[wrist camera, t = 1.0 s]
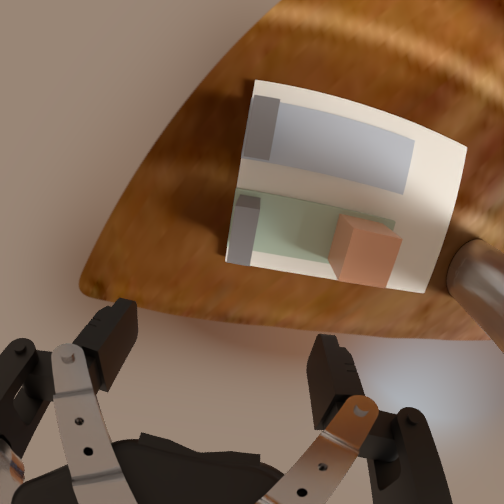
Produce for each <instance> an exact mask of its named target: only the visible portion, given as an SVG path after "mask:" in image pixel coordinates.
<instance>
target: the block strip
mask: <svg viewBox="0 0 504 504" xmlns="http://www.w3.org/2000/svg"><path fill="white" fill-rule="evenodd" d="M339 214H344V215H349V216H353V217H358V218H362V219H366V220H370V221H375V222H379V223H383V224H384V225H385V226H387V227H388V228H389V229H391V230H392V231H393V230H394V226H395V223H396V222H395V221H394V220H390V219H386V218H382V217H378V216H374V215H370V214H366V213H362V212H357V211H353V210H349V209H344V208H340V207H335V206H331V205H326V204H321V203H317V202H312V201H307V200H302V199H297V198H292V197H287V196H281V195H276V194H271V193H265V192H260V191H254V190H248V189H242V188H236V190H235V197H234V203H233V209H232V216H231V222H230V229H229V235H228V242H227V246H228V247H229V249H228V256H227V262H228V263H234V264H239V265H245V266H250V262H251V256H252V251H257V252H263V253H269V254H275V255H280V256H286V257H292V258H298V259H304V260H309V261H315V262H321V263H327V264H330V263H329V261H328V255H329V252H330V248H331V244H332V241H333V237H334V233H335V229H336V225H337V222H338V218H339Z"/></svg>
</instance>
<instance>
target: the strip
mask: <svg viewBox="0 0 504 504" xmlns="http://www.w3.org/2000/svg"><path fill="white" fill-rule="evenodd" d="M414 143H415V140H412V139H409V138H407V137H404V136H401V135H399V134H396V133H393V132H390V131H387V130H384V129H381V128H378V127H375V126H372V125H369V124H366V123H363V122H359V121H356V120H352V119H349V118H345V117H342V116H338V115H334V114H331V113H327V112H323V111H319V110H314V109H310V108H306V107H301V106H296V105H292V104H287V103H281V102H280V99H277V98H272V97H266V96H260V95H254V98H251V103H250V109H249V114H248V120H247V126H246V131H245V137H244V143H243V148H242V154H241V158H244V159H250V160H256V161H262V162H267V163H273V164H278V165H283V166H288V167H293V168H298V169H303V170H308V171H312V172H317V173H321V174H326V175H330V176H334V177H339V178H343V179H347V180H351V181H355V182H358V183H362V184H366V185H370V186H374V187H377V188H381V189H384V190H388V191H391V192H395V193H398V194H401V195H403V193H404V189H405V185H406V181H407V177H408V172H409V168H410V163H411V158H412V154H413V148H414Z"/></svg>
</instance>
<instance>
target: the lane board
mask: <svg viewBox="0 0 504 504" xmlns="http://www.w3.org/2000/svg"><path fill="white" fill-rule="evenodd" d="M254 95H260V96H266V97H272V98H277V99H280V102H281V103H287V104H292V105H296V106H301V107H306V108H310V109H314V110H319V111H323V112H327V113H331V114H334V115H338V116H342V117H345V118H349V119H352V120H356V121H359V122H363V123H366V124H369V125H372V126H375V127H378V128H381V129H384V130H387V131H390V132H393V133H396V134H399V135H401V136H404V137H407V138H409V139H412V140H415V143H414V148H413V154H412V158H411V163H410V168H409V172H408V177H407V181H406V185H405V189H404V193H403V195H401V194H398V193H395V192H391V191H388V190H384V189H381V188H377V187H374V186H370V185H366V184H362V183H358V182H355V181H351V180H347V179H343V178H339V177H334V176H330V175H326V174H321V173H317V172H312V171H308V170H303V169H298V168H293V167H288V166H283V165H278V164H273V163H267V162H262V161H256V160H250V159H244V158H241V163H240V169H239V175H238V181H237V187H236V188H242V189H248V190H254V191H260V192H265V193H271V194H276V195H281V196H287V197H292V198H297V199H302V200H307V201H312V202H317V203H321V204H326V205H331V206H335V207H340V208H344V209H349V210H353V211H357V212H362V213H366V214H370V215H374V216H378V217H382V218H386V219H390V220H394V221H395V222H396V223H395V226H394V230H393V232H394V233H396V234H397V235H398V236H399V237H401V238H402V239H403V240H402V243H401V246H400V249H399V252H398V255H397V258H396V261H395V264H394V267H393V269H392V272H391V275H390V278H389V280H388V283H387V286H386V288H391V289H398V290H404V291H411V292H418V293H424V292H425V290H426V287H427V285H428V283H429V280H430V278H431V275H432V272H433V270H434V267H435V265H436V262H437V259H438V256H439V253H440V251H441V248H442V245H443V242H444V239H445V236H446V233H447V229H448V226H449V223H450V219H451V216H452V212H453V209H454V205H455V201H456V198H457V194H458V190H459V185H460V181H461V177H462V172H463V167H464V162H465V157H466V151H467V147H466V146H464V145H462V144H460V143H458V142H456V141H454V140H452V139H450V138H447V137H445V136H443V135H441V134H439V133H437V132H434V131H432V130H430V129H428V128H425V127H423V126H421V125H418V124H416V123H413V122H411V121H408V120H406V119H403V118H401V117H398V116H395V115H393V114H390V113H387V112H384V111H381V110H378V109H375V108H372V107H369V106H366V105H363V104H360V103H357V102H353V101H350V100H347V99H343V98H340V97H336V96H332V95H328V94H324V93H320V92H316V91H312V90H308V89H303V88H299V87H294V86H289V85H284V84H278V83H273V82H267V81H261V80H255V85H254V90H253V95H252V98H254ZM228 249H229V247H228V246H227V252H226V258H225V261H226V262H227V256H228ZM250 266H255V267H261V268H267V269H273V270H279V271H285V272H291V273H297V274H303V275H309V276H315V277H322V278H328V279H334V280H337V277H336V275H335V273H334V271H333V269H332V267H331V265H330V264H327V263H321V262H315V261H309V260H304V259H298V258H292V257H286V256H280V255H275V254H269V253H263V252H257V251H252V256H251V262H250Z"/></svg>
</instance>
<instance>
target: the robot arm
mask: <svg viewBox="0 0 504 504" xmlns="http://www.w3.org/2000/svg"><path fill="white" fill-rule="evenodd" d="M447 288H448V291H449V293H450V295H451V296H452V297H453V298H454V299H455V300H456V301H457V302H458V303H459V304H460V305H461V306H462V307H463V308H464V309H465V311H466V312H467V313H468V314H469V315H470V316H471V317H472V318H473V319H474V320H475V321H476V322H477V324H478V325H479V326H480V327H481V328H482V329H483V330H484V331H485V333H486V334H487V335H488V336H489V337H490V338H491V339H492V341H493V342H494V343H495V344H496V345H497V346H498V348H499V349H500V350H501V351H502V353H503V354H504V253H502V252H501V251H500V250H498V249H496V248H495V247H493V246H492V245H490V244H488V243H487V242H485V241H483V240H480V239H475V240H472V241H470V242H468V243H466V244H465V245H464V246H463V247H461V248H460V250H459V251H458V252H457V253H456V255H455V256H454V258H453V260H452V262H451V264H450V267H449V270H448V274H447ZM137 335H138V319H137V304H136V302H135V301H132V300H128V299H124V298H119V299H118V300H117V301H116V302H115V303H114V305H113V306H112V307H110V306H106V307H104V308H103V309H101V310H99V311H98V312H97V313H96V314H95V316H94V317H93V319H91V321H90V322H89V323H88V325H86V326H85V328H84V329H83V330H82V331H81V333H80V334H79V335H78V337H77V338H76V339H75V340H74V341H73V343H72V344H62V345H60V346H58V347H57V348H55V349H54V350H53V352H48V351H39V350H36V348H35V345H34V343H33V342H32V341H31V340H29V339H26V338H19V339H16V340H14V341H12V342H11V343H10V344H9V345H8V346H7V347H6V348H5V350H4V351H3V352H2V353H1V355H0V504H325V503H326V502H327V500H328V499H329V497H330V496H331V495H332V493H333V492H334V491H335V489H336V488H337V486H338V485H339V484H340V482H341V480H342V479H343V478H344V476H345V475H346V473H347V472H348V470H349V468H350V467H351V466H352V464H353V462H354V461H355V459H356V458H357V456H358V457H363V458H367V463H368V470H369V476H370V483H371V490H372V498H373V504H453V503H452V500H451V495H450V492H449V488H448V484H447V481H446V477H445V474H444V471H443V467H442V464H441V461H440V458H439V455H438V452H437V449H436V446H435V443H434V440H433V437H432V434H431V431H430V428H429V426H428V423H427V421H426V418H425V416H424V415H423V414H422V413H421V412H420V411H419V410H417V409H415V408H412V407H405V408H403V409H401V410H400V411H399V412H398V414H392V413H388V412H384V411H380V410H379V409H378V406H377V405H376V404H375V402H374V401H373V400H372V399H370V398H368V397H366V396H365V394H364V391H363V388H362V385H361V382H360V379H359V376H358V373H357V370H356V367H355V365H354V361H353V358H352V355H351V354H350V353H349V352H348V351H347V349H346V348H344V347H339V344H338V341H337V338H336V336H335V335H326V334H318V336H317V337H316V340H315V343H314V345H313V348H312V351H311V353H310V356H309V359H308V362H307V379H308V385H309V392H310V399H311V407H312V414H313V422H314V429H315V430H324V431H322V432H321V434H320V435H319V436H318V437H317V438H316V440H315V441H314V442H313V443H312V444H311V446H310V447H309V448H308V449H307V450H306V452H305V453H304V454H303V455H302V456H301V457H300V459H299V460H298V461H297V462H296V463H295V464H294V465H293V467H291V469H290V470H289V471H288V472H287V473H286V474H285V475H284V474H283V473H282V472H280V471H279V470H277V469H276V468H274V467H272V466H270V465H267V464H265V463H261V462H260V454H249V453H240V452H233V451H227V452H207V453H206V452H205V453H200V452H196V451H193V450H191V449H189V448H186V447H184V446H182V445H180V444H178V443H175V442H173V441H171V440H168V439H164V438H161V437H157V436H153V435H149V434H146V433H141V435H140V438H139V439H127V440H121V441H116V442H113V443H112V440H111V438H110V435H109V433H108V430H107V427H106V424H105V422H104V419H103V416H102V413H101V410H100V406H99V403H98V400H97V397H96V394H97V392H98V391H99V389H100V390H102V391H105V392H108V391H109V389H110V387H111V386H112V384H113V382H114V380H115V378H116V376H117V374H118V373H119V371H120V369H121V367H122V365H123V363H124V362H125V360H126V358H127V356H128V354H129V353H130V351H131V349H132V347H133V345H134V344H135V342H136V339H137ZM21 386H22V388H21V389H20V387H21ZM19 389H20V391H19ZM18 391H19V392H18ZM17 392H18V394H17V395H16V393H17ZM15 395H16V397H15ZM14 397H15V399H14ZM51 401H53V402H54V407H55V412H56V418H57V423H58V428H59V432H60V437H61V440H62V445H63V449H64V453H65V456H66V460H67V463H68V464H67V465H65V466H62V467H60V468H58V469H56V470H54V471H51V472H49V473H46V474H44V475H42V476H39V477H37V478H34V479H31V480H29V481H26V482H25V483H23V481H24V479H25V476H24V471H25V470H24V464H23V462H22V460H21V459H22V457H23V455H24V452H25V450H26V448H27V446H28V444H29V442H30V440H31V438H32V436H33V434H34V432H35V430H36V428H37V426H38V424H39V422H40V420H41V418H42V416H43V414H44V413H45V411H46V409H47V407H48V405H49V404H50V402H51Z"/></svg>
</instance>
